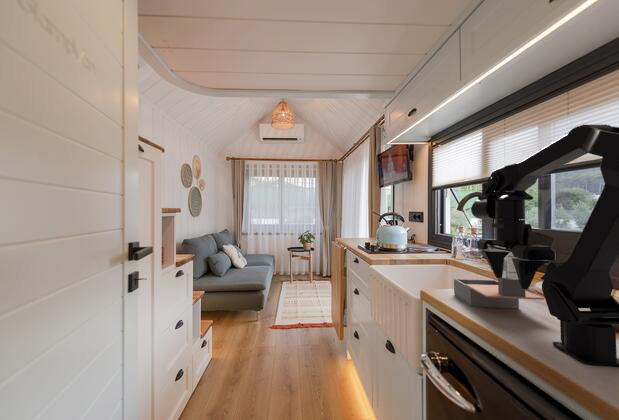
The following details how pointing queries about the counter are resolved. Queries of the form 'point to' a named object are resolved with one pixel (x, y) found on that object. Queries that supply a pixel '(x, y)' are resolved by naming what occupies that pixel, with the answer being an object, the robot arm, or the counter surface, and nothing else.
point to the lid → (504, 290)
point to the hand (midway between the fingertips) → (511, 283)
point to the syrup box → (509, 267)
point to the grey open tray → (478, 299)
